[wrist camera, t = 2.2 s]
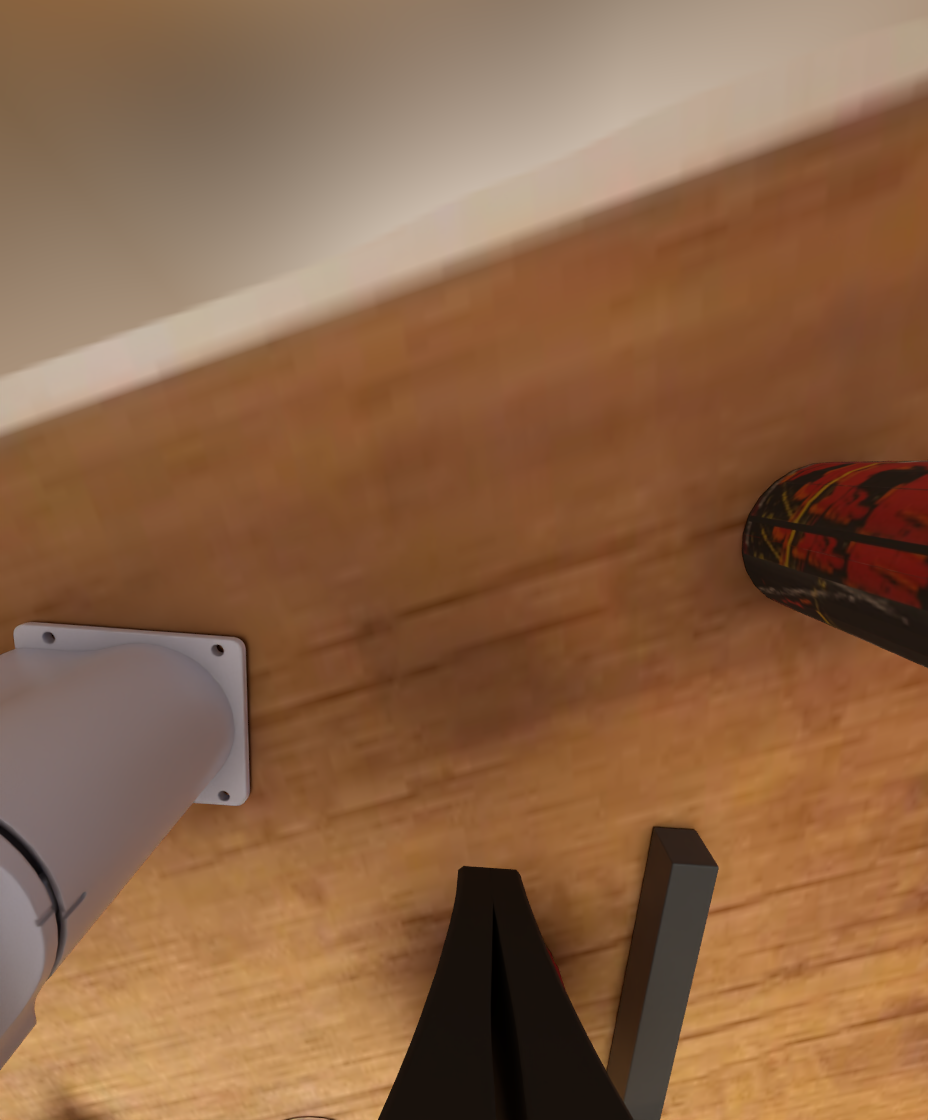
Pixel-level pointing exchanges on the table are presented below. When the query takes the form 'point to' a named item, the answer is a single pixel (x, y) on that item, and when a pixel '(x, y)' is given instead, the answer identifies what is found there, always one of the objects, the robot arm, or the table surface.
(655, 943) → the rail
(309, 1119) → the cylindrical container
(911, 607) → the deodorant
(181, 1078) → the table surface
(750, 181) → the table surface
